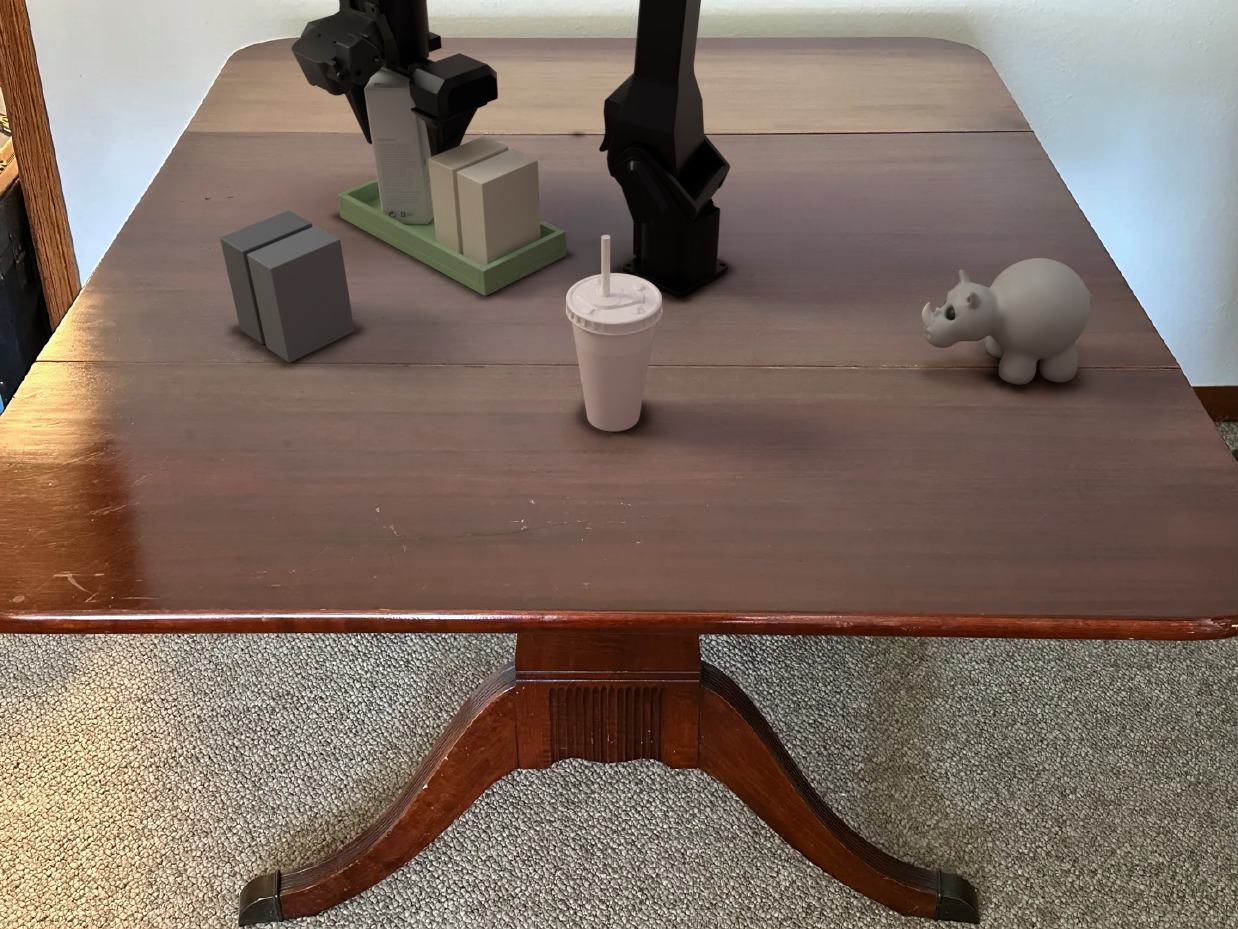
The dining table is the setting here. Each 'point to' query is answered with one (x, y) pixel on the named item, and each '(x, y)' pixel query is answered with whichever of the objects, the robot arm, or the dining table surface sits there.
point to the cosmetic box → (399, 149)
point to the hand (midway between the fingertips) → (407, 158)
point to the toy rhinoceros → (1018, 319)
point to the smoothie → (613, 341)
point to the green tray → (421, 244)
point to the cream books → (485, 199)
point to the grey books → (288, 284)
